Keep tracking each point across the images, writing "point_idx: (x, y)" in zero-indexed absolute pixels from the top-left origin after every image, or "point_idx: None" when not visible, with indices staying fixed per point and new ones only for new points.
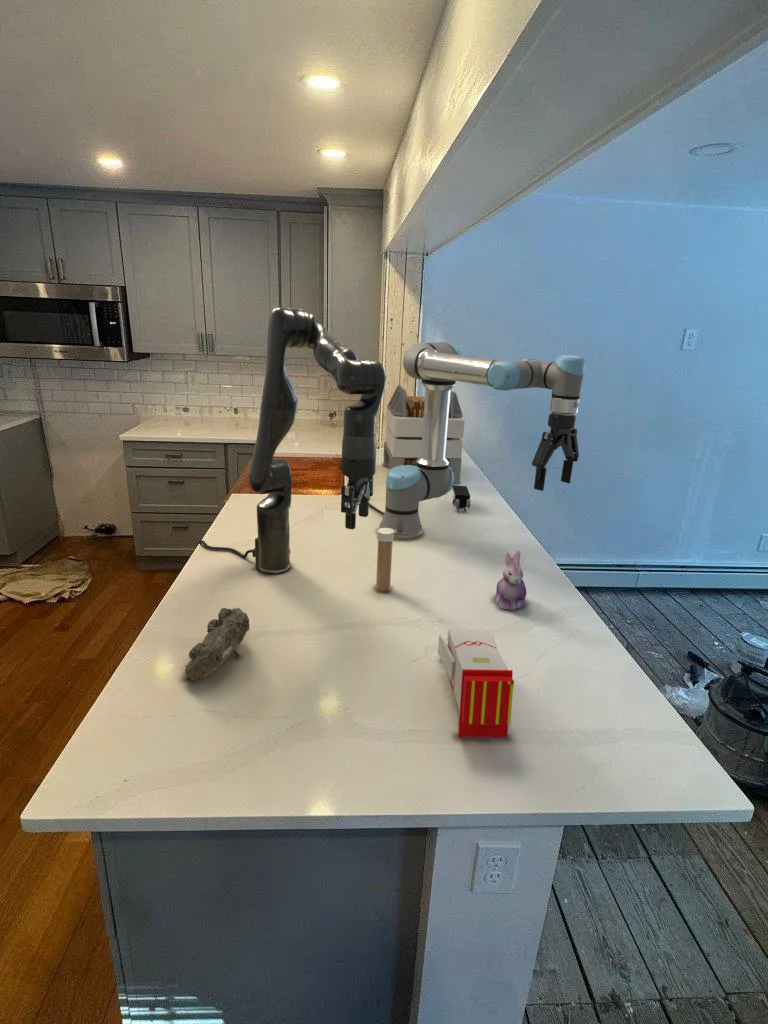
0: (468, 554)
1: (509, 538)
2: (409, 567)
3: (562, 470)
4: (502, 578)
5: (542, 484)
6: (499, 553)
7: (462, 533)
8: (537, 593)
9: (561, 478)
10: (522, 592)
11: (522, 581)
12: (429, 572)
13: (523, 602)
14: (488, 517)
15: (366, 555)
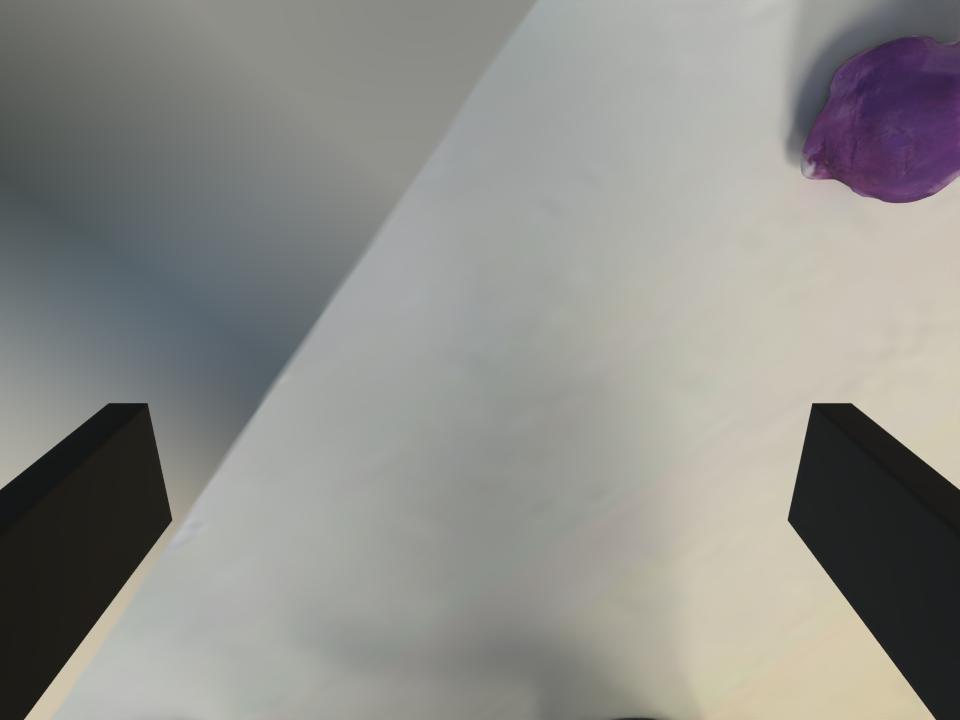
0: (585, 526)
1: (278, 535)
2: None
3: (77, 642)
4: (940, 181)
5: (912, 457)
6: (459, 461)
7: (424, 665)
8: (696, 83)
9: (150, 541)
10: (936, 42)
11: (912, 79)
12: None
13: (868, 50)
14: (177, 714)
15: (902, 710)
